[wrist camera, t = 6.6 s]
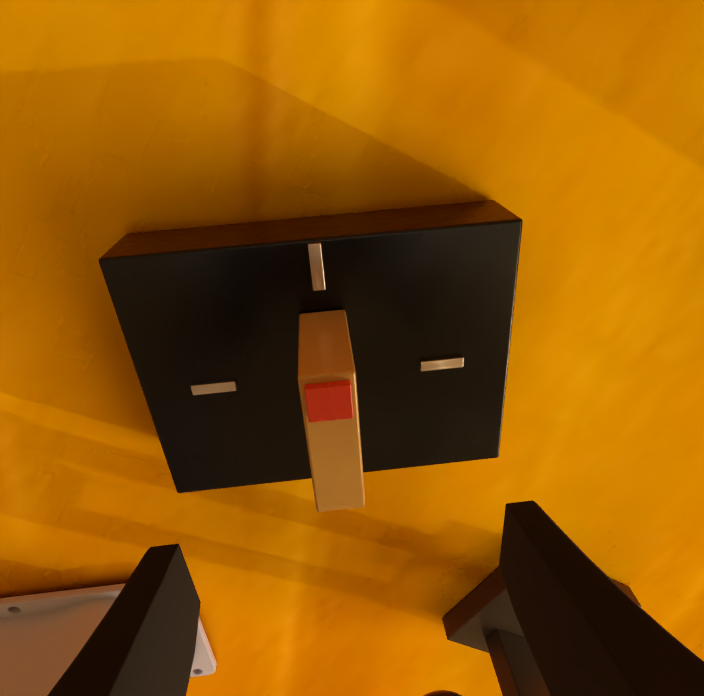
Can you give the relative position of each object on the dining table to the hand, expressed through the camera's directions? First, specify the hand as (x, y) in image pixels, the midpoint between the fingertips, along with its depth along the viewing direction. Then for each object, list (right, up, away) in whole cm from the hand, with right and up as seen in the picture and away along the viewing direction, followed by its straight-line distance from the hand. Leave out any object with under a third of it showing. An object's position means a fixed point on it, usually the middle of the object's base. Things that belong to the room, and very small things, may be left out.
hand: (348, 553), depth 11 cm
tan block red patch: (-1, +4, +5) cm, 6 cm away
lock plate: (-1, +5, +7) cm, 9 cm away
